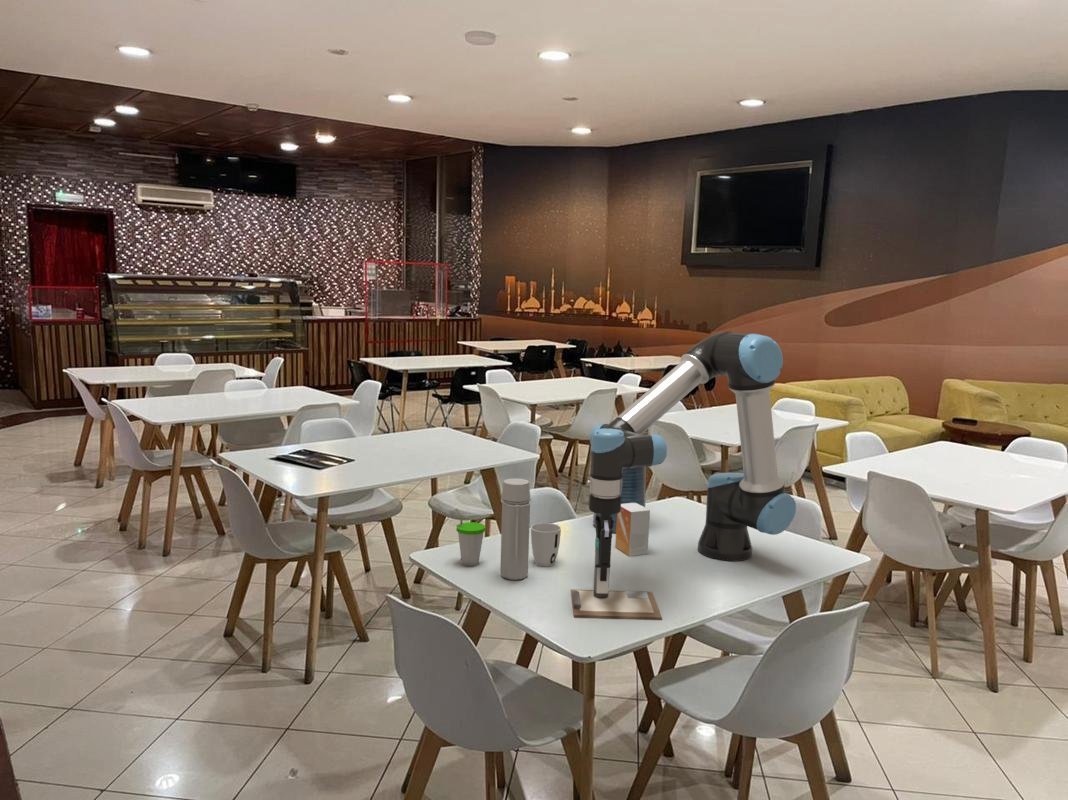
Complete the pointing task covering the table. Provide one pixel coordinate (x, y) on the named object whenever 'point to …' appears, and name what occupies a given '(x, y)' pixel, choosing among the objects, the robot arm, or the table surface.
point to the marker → (597, 595)
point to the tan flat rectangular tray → (615, 605)
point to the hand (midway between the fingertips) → (601, 589)
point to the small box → (632, 529)
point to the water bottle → (515, 528)
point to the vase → (630, 490)
